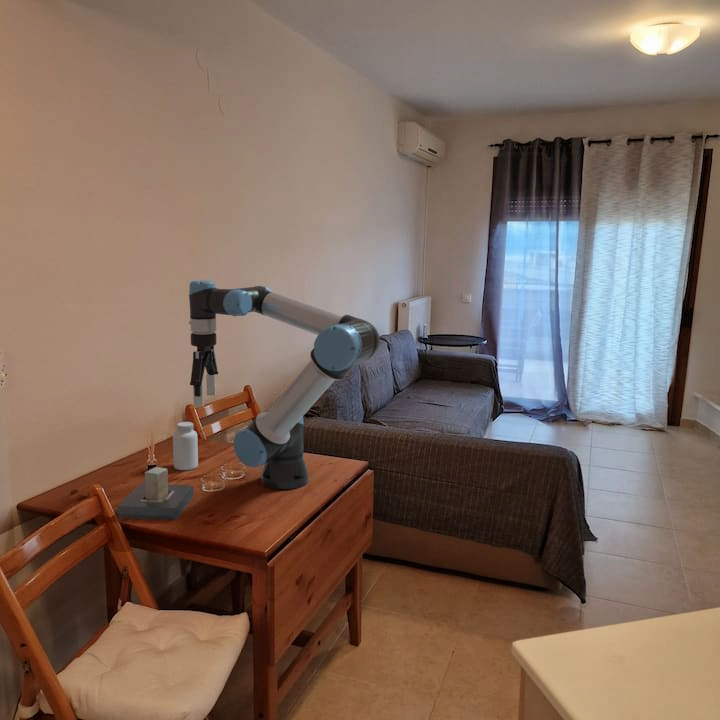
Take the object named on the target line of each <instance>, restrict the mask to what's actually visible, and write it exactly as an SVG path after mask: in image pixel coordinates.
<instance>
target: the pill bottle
mask: <svg viewBox="0 0 720 720" xmlns="http://www.w3.org/2000/svg"><path fill="white" fill-rule="evenodd" d="M198 440H199V439H198V433H197V431H195V430H194V423H193V422H190V421H182V422H181V421H180V422H178V423H177V424H176V431H175V432H174V433H173V435H172V451H173V454H172V455H173V458H172V459H173V468H174V469H175V470H177V471H178V470H179V471H189V470H194V469H196V468H198V466H199V450H198V448H199V446H198Z"/></svg>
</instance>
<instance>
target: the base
mask: <svg viewBox="0 0 720 720" xmlns="http://www.w3.org/2000/svg"><path fill="white" fill-rule="evenodd" d="M194 495H195V494H194V485H193V484H189V485H188V484H168V496H167V497H166V498H165V499H164V500H163V501H162V500H146V498H145V483H139V484H138V485H137V486H136V487H135V488H134V489H133V490H132V491H131V492H130V493H129V494H128V495H127V496H126V497H125V498H124V499H123V500H122V501H121V502H120V503H118V505H117V518H119V519H133V520H134V519H136V520H137V519H139V520H159V521H160V520H161V521H163V520H164V521H177V520H178V518H179V516H180V515H181V514H182V513H183V511H185V509H186V508H187V506H189V504H190V502H191V501H192V499H193V498H194Z"/></svg>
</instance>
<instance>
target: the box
mask: <svg viewBox="0 0 720 720" xmlns="http://www.w3.org/2000/svg"><path fill="white" fill-rule="evenodd" d="M168 472H169V471H168V468H164V467H158V466H155V467H152V468H151V469H149V470H146V471H145V472H144V484H145V498H146V500H162V501H163V500H164V499H165V498H166V497H167V496H168V485H169V478H168V476H169V474H168Z"/></svg>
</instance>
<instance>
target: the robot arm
mask: <svg viewBox="0 0 720 720" xmlns="http://www.w3.org/2000/svg"><path fill="white" fill-rule="evenodd" d="M188 297H189V298H188V299H189V321H188V324H189V325H190V332H191V334H190V345H191V346H192V347H196V351H193V353H192V366H191V376H190V382H189V385H190V386H192V391H193V392H192V393H193V407H200V408H203V407H204V406H205V405H204V404H205V403H204V384H203V379H204V374H205V372H206V374H207V375H206V376H205V377H206V378H205V379H206V396H213V397H214V396H216V395H217V393H216V391H217V388H216V387H217V385H216V375H218V374H219V371H218V366H217V360H216V354H215V346H216V345H217V333H216V331H217V318H216V317H217V315H226V316H232V317H245V316H247V315H248V313H253V312H254V313H257V314H260V315H262V316H265V317H269V318H271V319H273V320H277V321H279V322H281V323H284V324H287V325H290V326H292V327H295V328H297V329H300V330H303V331H306V332H308V333H311V334H314V335H317V336H316V338H315V340H314V341H313V342H314V343H313V349H312V350H311V351H310V353H309V357H310V360H309V362H308V363H307V364H306V365H305V367H303V369H302V370H301V371H300V372H299V373H298V375H296V377H295V379H294V380H293V381H292V382H291V383H290V384H289V385H288V387H287V388H286V389H284V392H282V394H281V395H280V396H279V397H278V398H277V400H275V402H274V403H273V404H272V406H271V407H270V408H269V409H268V410H267V411H263V412H260V413H258V414H257V415H256V416H255V418H254V419H253V420H252V421H251V422H250V424H248V426H247V427H245V428H242V429H240V430H238V432H236V433H235V435H234V436H233V437H234V438H233V440H232V441H233V442H232V445H233V451H234V453H235V456H236V457H237V458H238V461H239V462H241V463H242V464H243V465H245V466H246V467H250V468H257V467H260V466H261V467H262V466H263V468H262V471H261V473H260V475H261V476H260V481H261V484H262V485H263V486H265V487H266V488H269V489H276V490H293V489H296V488H302V487H304V486H305V485H306V484H308V483H309V475H310V474H309V470H308V467H307V465H306V461H305V458H304V425H305V423H304V415H306V414H307V412H308V411H309V410H311V408H312V407H313V406H314V404H315V403H316V402H317V401H318V400H319V399H320V398H321V397H322V395H323V394H324V393H325V392H326V391H327V390H328V389H329V387H330V386H331V385H332V384H333V383H334V382H335V381H342V380H344V379H345V378H346V377H347V376H348V374H349V373H351V371H352V370H353V369H354V368H355V367H356V366H357V365H358V364H360V363H363V362H365V361H367V360H369V359H371V358H373V357H374V356H375V354H376V353H377V351H378V349H379V346H380V336H379V332H378V330H377V328H376V327H375V326H374V325H373V324H372V323H371V322H370V321H367V320H365V319H362V318H359V317H356V316H352V315H349V314H344V315H339V314H336V313H332V312H330V311H327V310H324V309H321V308H319V307H316V306H312V305H311V304H310V305H309V304H307V303H304V302H302V301H299V300H295V299H293V298H290V297H287V296H284V295H281V294H278V293H277V292H276V293H275V292H273V291H272V289H271V288H269V287H268V286H263V285H262V286H261V285H255V286H249V287H241V288H230V289H229V288H217V287H216V283H215V282H214V281H213V280H193V281H191V282H190V283H189V292H188Z"/></svg>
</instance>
